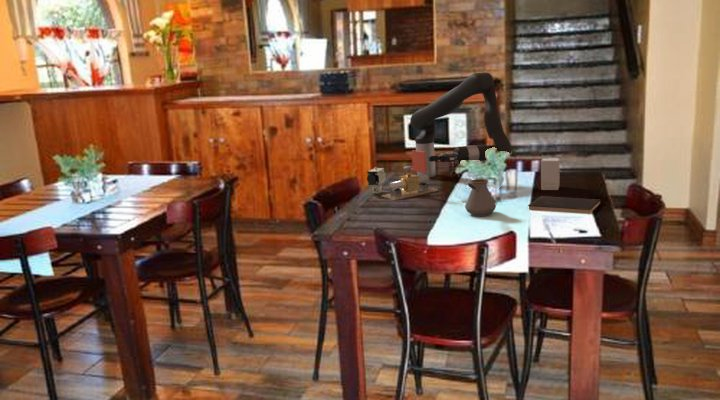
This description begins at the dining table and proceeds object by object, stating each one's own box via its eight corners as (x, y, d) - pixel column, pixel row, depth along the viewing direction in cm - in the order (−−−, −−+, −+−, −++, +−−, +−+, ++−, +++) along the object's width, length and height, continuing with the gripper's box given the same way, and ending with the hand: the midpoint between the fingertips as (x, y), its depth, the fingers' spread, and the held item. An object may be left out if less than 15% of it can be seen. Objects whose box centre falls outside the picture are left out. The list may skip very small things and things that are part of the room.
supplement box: (558, 190, 266) (558, 160, 263) (540, 190, 269) (540, 161, 266) (560, 186, 273) (559, 157, 270) (542, 186, 275) (542, 158, 273)
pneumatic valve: (367, 195, 284) (365, 169, 282) (378, 190, 294) (376, 165, 292) (378, 196, 282) (376, 169, 279) (389, 190, 292) (387, 165, 289)
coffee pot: (470, 209, 245) (468, 172, 242) (499, 210, 240) (498, 172, 237) (453, 224, 226) (452, 183, 223) (485, 225, 221) (483, 184, 218)
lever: (402, 170, 279) (400, 149, 277) (409, 169, 281) (408, 148, 279) (421, 174, 267) (420, 152, 265) (429, 172, 269) (428, 151, 267)
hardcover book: (590, 215, 226) (590, 209, 225) (527, 210, 239) (527, 205, 238) (600, 205, 239) (600, 199, 238) (541, 201, 251) (540, 195, 251)
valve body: (424, 187, 291) (422, 165, 289) (437, 190, 283) (436, 168, 280) (381, 197, 279) (379, 174, 277) (394, 200, 271) (392, 176, 268)
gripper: (460, 144, 279) (423, 148, 275) (472, 147, 266) (434, 152, 262) (460, 161, 280) (424, 165, 276) (473, 165, 268) (434, 169, 264)
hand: (429, 159), depth 269 cm, fingers closed
